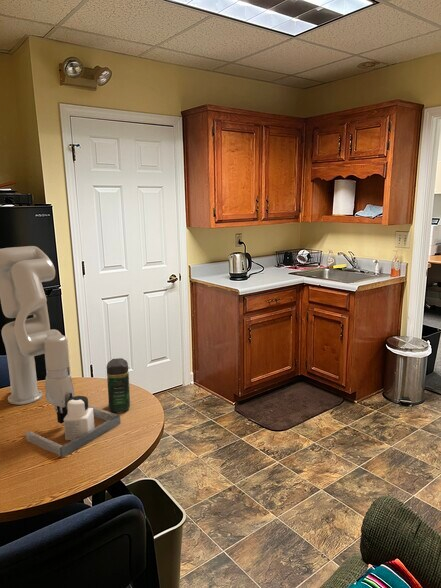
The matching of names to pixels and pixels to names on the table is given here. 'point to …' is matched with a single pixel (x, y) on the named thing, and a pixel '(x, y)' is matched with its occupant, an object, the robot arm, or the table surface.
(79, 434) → the container
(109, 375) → the coffee jar
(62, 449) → the bracket
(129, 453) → the table surface
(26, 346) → the robot arm
